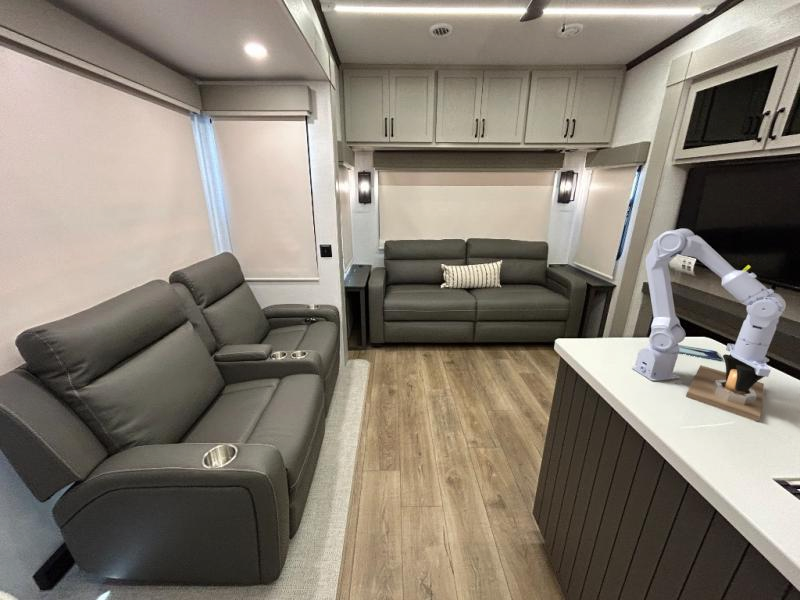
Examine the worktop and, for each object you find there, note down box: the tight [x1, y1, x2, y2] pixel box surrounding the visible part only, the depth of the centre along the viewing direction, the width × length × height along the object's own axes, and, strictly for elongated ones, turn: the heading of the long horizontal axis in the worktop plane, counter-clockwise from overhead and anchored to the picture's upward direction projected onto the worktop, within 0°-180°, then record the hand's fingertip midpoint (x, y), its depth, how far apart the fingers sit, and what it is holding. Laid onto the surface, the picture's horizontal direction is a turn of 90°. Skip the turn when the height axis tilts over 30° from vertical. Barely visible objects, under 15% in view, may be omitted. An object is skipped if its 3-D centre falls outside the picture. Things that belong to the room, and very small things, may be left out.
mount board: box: [685, 364, 765, 423], centre depth 93 cm, size 22×14×2 cm, turn 132°
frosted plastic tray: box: [713, 380, 757, 405], centre depth 89 cm, size 8×8×2 cm
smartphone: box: [678, 344, 724, 362], centre depth 117 cm, size 7×1×15 cm
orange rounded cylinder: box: [725, 369, 746, 394], centre depth 88 cm, size 4×4×6 cm
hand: (735, 386), depth 89 cm, fingers closed on orange rounded cylinder, 4 cm apart
